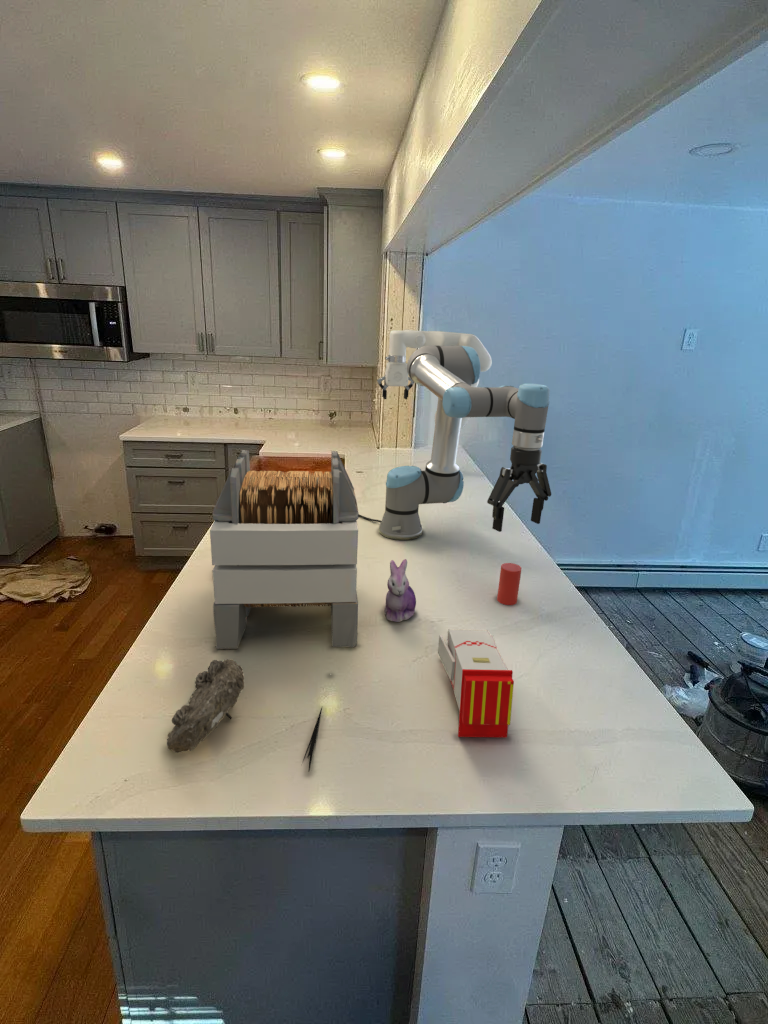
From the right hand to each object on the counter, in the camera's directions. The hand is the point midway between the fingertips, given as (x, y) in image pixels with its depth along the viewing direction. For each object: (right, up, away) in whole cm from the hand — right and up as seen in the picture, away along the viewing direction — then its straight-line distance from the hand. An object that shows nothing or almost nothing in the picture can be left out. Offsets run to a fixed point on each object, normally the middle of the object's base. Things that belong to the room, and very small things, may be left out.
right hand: (395, 398), depth 255 cm
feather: (-17, -91, -147) cm, 173 cm away
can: (+29, -76, -98) cm, 127 cm away
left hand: (+30, -55, -106) cm, 123 cm away
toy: (+13, -89, -137) cm, 163 cm away
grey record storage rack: (-29, -77, -110) cm, 137 cm away
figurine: (-1, -78, -108) cm, 133 cm away
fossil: (-38, -90, -147) cm, 177 cm away
